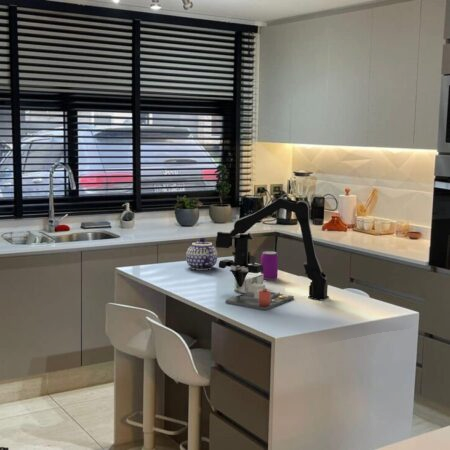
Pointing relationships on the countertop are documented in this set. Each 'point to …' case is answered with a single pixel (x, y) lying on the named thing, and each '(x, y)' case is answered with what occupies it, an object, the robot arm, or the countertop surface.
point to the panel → (251, 302)
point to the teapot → (201, 255)
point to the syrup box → (249, 282)
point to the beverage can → (269, 265)
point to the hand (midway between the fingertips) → (240, 286)
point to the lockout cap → (264, 297)
